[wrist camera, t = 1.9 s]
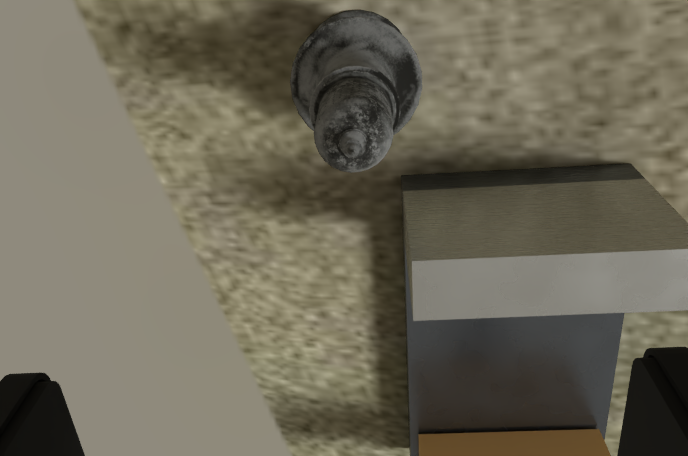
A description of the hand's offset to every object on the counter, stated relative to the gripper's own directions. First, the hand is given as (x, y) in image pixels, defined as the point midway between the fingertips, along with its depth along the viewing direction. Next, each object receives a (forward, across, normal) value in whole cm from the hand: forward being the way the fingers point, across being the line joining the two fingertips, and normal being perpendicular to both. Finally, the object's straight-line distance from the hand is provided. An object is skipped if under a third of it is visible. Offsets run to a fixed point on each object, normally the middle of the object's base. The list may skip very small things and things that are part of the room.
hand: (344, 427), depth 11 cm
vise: (+24, -8, +16) cm, 30 cm away
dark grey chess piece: (+24, 0, 0) cm, 24 cm away
